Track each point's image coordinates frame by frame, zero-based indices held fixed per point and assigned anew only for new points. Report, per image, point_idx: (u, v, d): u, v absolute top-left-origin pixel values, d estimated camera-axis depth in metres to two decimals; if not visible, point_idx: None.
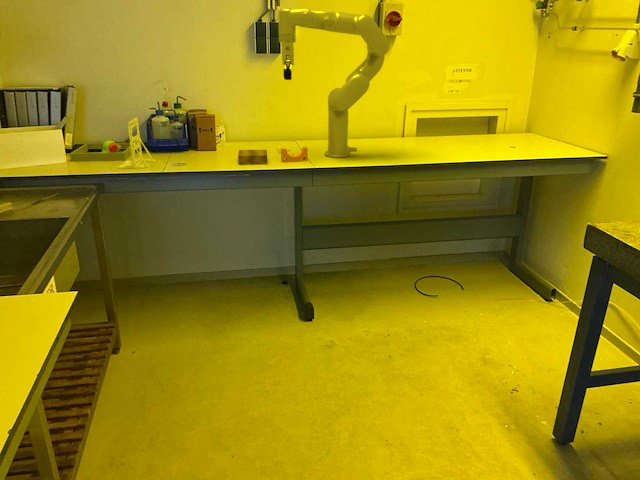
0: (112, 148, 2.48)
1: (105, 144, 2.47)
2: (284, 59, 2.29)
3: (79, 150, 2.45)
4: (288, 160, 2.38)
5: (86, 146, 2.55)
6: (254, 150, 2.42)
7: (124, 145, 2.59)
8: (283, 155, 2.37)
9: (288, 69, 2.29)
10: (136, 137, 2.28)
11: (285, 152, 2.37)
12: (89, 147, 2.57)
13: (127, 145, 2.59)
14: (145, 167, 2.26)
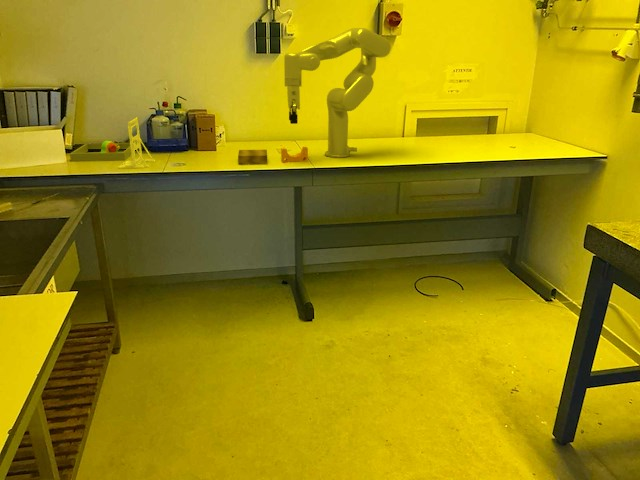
0: (111, 148, 2.47)
1: (104, 144, 2.47)
2: (290, 103, 2.27)
3: (79, 150, 2.45)
4: (288, 160, 2.38)
5: (86, 146, 2.55)
6: (254, 150, 2.42)
7: (124, 145, 2.59)
8: (283, 155, 2.36)
9: (294, 113, 2.27)
10: (136, 137, 2.28)
11: (285, 152, 2.36)
12: (89, 147, 2.57)
13: (127, 145, 2.59)
14: (145, 167, 2.26)
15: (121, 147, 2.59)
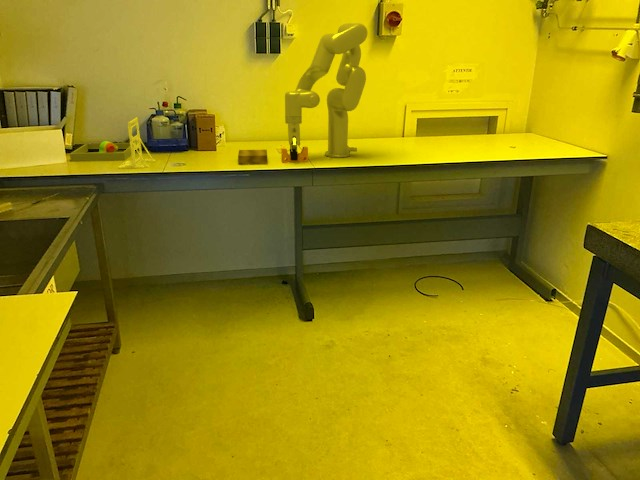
0: (109, 149, 2.47)
1: (102, 145, 2.46)
2: (290, 140, 2.33)
3: (79, 150, 2.45)
4: (288, 160, 2.38)
5: (86, 146, 2.55)
6: (254, 150, 2.42)
7: (124, 145, 2.59)
8: (283, 155, 2.36)
9: (294, 151, 2.35)
10: (136, 137, 2.28)
11: (285, 152, 2.36)
12: (89, 147, 2.57)
13: (127, 145, 2.59)
14: (145, 167, 2.26)
15: (121, 147, 2.59)
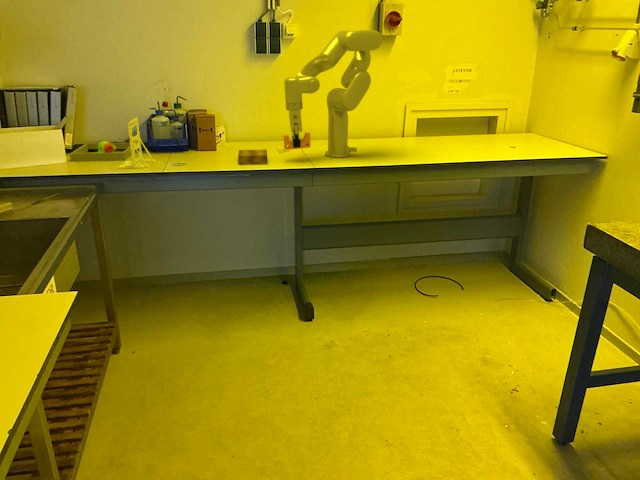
0: (107, 149, 2.46)
1: (100, 145, 2.46)
2: (292, 127, 2.31)
3: (79, 150, 2.45)
4: (291, 147, 2.37)
5: (86, 146, 2.55)
6: (254, 150, 2.42)
7: (124, 145, 2.59)
8: (285, 142, 2.36)
9: (297, 138, 2.34)
10: (136, 137, 2.28)
11: (287, 139, 2.35)
12: (89, 147, 2.57)
13: (127, 145, 2.59)
14: (145, 167, 2.26)
15: (121, 147, 2.59)
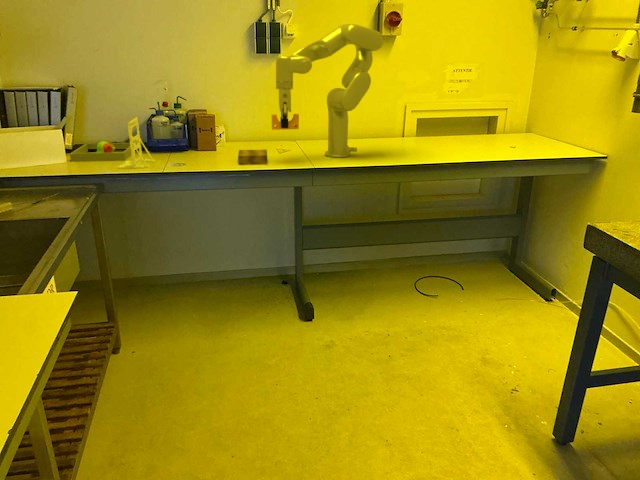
0: (106, 149, 2.46)
1: (99, 145, 2.45)
2: (281, 106, 2.27)
3: (79, 150, 2.45)
4: (278, 127, 2.32)
5: (86, 146, 2.55)
6: (254, 150, 2.42)
7: (124, 145, 2.59)
8: (273, 121, 2.31)
9: (285, 119, 2.30)
10: (136, 137, 2.28)
11: (275, 118, 2.31)
12: (89, 147, 2.57)
13: (127, 145, 2.59)
14: (145, 167, 2.26)
15: (121, 147, 2.59)
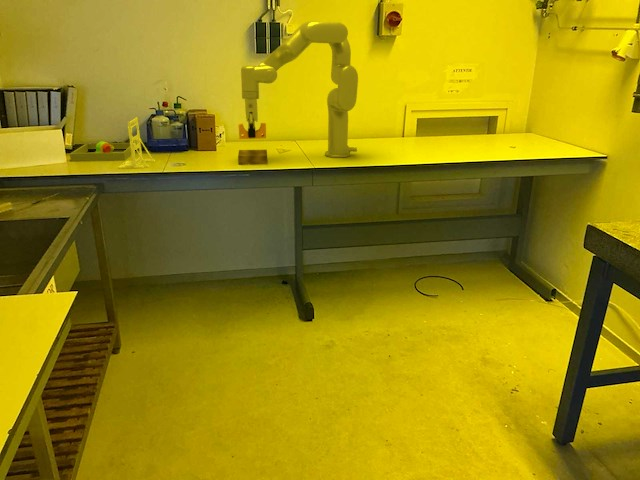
0: (105, 149, 2.46)
1: (98, 145, 2.45)
2: (247, 116, 2.27)
3: (79, 150, 2.45)
4: (245, 136, 2.32)
5: (86, 146, 2.55)
6: (254, 150, 2.42)
7: (124, 145, 2.59)
8: (240, 131, 2.31)
9: (252, 128, 2.30)
10: (136, 137, 2.28)
11: (242, 128, 2.31)
12: (89, 147, 2.57)
13: (127, 145, 2.59)
14: (145, 167, 2.26)
15: (121, 147, 2.59)
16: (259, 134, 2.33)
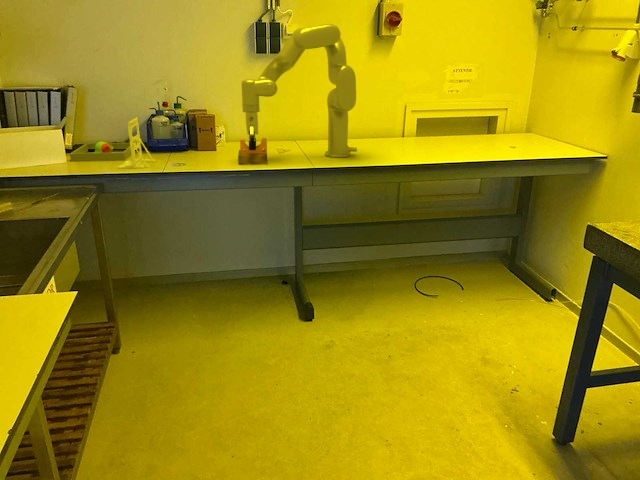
0: (105, 149, 2.46)
1: (97, 145, 2.45)
2: (248, 129, 2.29)
3: (79, 150, 2.45)
4: (247, 151, 2.35)
5: (86, 146, 2.55)
6: None
7: (124, 145, 2.59)
8: (241, 146, 2.34)
9: (252, 141, 2.31)
10: (136, 137, 2.28)
11: (243, 143, 2.33)
12: (89, 147, 2.57)
13: (127, 145, 2.59)
14: (145, 167, 2.26)
15: (121, 147, 2.59)
16: (260, 149, 2.36)
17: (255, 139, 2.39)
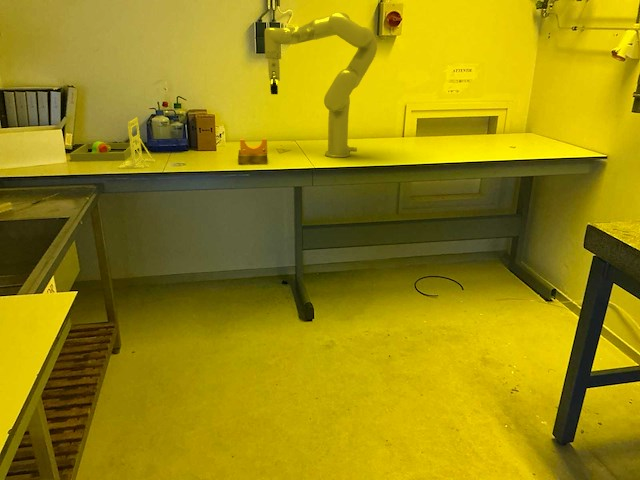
0: (102, 149, 2.45)
1: (95, 145, 2.45)
2: (270, 75, 2.43)
3: (79, 150, 2.45)
4: (247, 152, 2.35)
5: (86, 146, 2.55)
6: None
7: (124, 145, 2.59)
8: (241, 146, 2.33)
9: (274, 84, 2.43)
10: (136, 137, 2.28)
11: (243, 143, 2.33)
12: (89, 147, 2.57)
13: (127, 145, 2.59)
14: (145, 167, 2.26)
15: (121, 147, 2.59)
16: (260, 149, 2.36)
17: None
